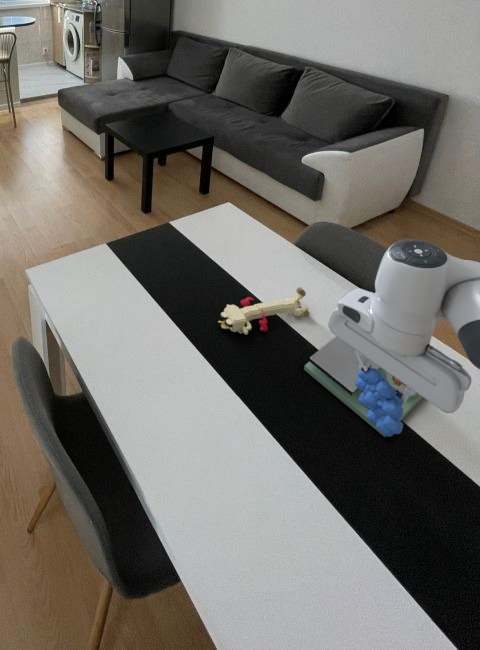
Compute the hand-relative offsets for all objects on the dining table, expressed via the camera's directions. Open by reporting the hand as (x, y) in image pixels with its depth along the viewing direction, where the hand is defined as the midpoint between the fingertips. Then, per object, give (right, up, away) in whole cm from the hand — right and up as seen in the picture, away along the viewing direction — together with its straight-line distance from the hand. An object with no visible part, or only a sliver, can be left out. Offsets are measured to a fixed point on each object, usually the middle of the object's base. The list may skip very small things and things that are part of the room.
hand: (382, 382), depth 78 cm
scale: (+10, -13, +21) cm, 26 cm away
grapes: (+1, -9, +3) cm, 9 cm away
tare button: (+17, -11, +17) cm, 27 cm away
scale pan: (+9, -10, +20) cm, 24 cm away
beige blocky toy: (-6, -7, +39) cm, 40 cm away
